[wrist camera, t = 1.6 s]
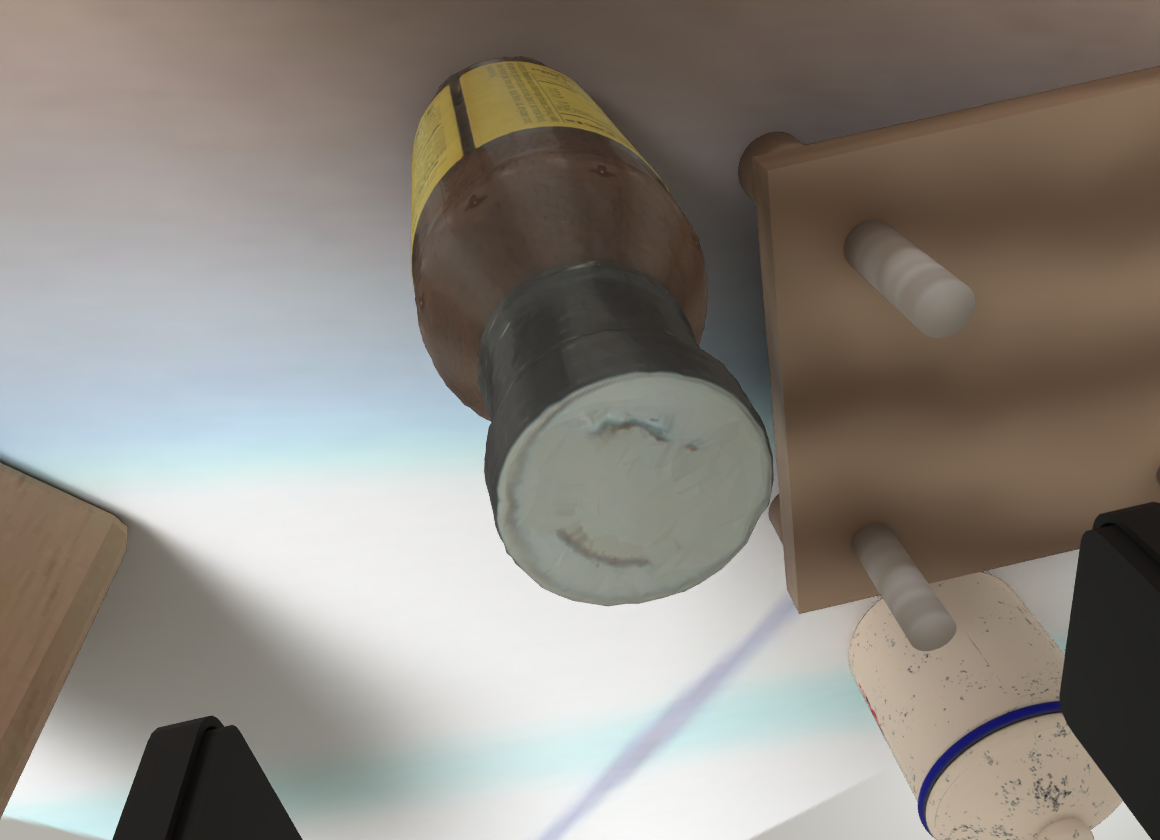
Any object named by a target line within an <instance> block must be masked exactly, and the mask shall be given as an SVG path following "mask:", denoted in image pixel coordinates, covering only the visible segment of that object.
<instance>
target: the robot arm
mask: <svg viewBox="0 0 1160 840" xmlns="http://www.w3.org/2000/svg"><path fill="white" fill-rule="evenodd" d="M1059 701H1060V706H1061V710H1062V713H1063V716H1064V718H1065V720H1066V723H1067V725H1068V726H1069V728H1070V729H1071V731H1072V732H1073V734H1074V735H1075V736H1076V738H1077V739H1078V741H1079V742H1080V743H1081V745H1082V746H1083V747H1084V749H1085V750H1086V751H1087V753H1088V754H1089V755H1090V757H1091V758H1092V759H1093V761H1094V762H1095V763H1096V765H1097V766H1098V768H1099V769H1100V770H1101V772H1102V773H1103V774H1104V776H1105V777H1106V778H1107V780H1108V781H1109V782H1110V784H1111V785H1112V786H1113V788H1114V789H1115V790H1116V792H1117V793H1118V795H1119V796H1120V797H1121V799H1122V800H1123V801H1124V803H1125V804H1126V805H1127V807H1128V808H1129V809H1130V811H1131V812H1132V813H1133V815H1134V816H1135V817H1136V819H1137V820H1138V822H1139V823H1140V824H1141V826H1142V827H1143V828H1144V830H1145V831H1146V832H1147V834H1148V835H1149V836H1150V838H1151V839H1152V840H1160V503H1158V502H1150V503H1145V504H1141V505H1137V506H1132V507H1128V508H1123V509H1119V510H1115V511H1110V512H1106V513H1102V514H1099V515H1098V516H1097V518H1096V519H1095V521H1094V524H1093V527H1092V530H1088V531H1086V532H1085V533H1084V534H1083V535H1082V539H1081V544H1080V551H1079V558H1078V565H1077V572H1076V579H1075V587H1074V594H1073V601H1072V608H1071V615H1070V623H1069V630H1068V637H1067V644H1066V651H1065V658H1064V666H1063V673H1062V680H1061V687H1060V694H1059ZM113 840H302V838H301V836H300V835H299V833H298V831H297V829H296V828H295V826H294V824H293V822H292V821H291V819H290V817H289V816H288V814H287V812H286V810H285V809H284V807H283V805H282V803H281V802H280V800H279V798H278V796H277V795H276V793H275V791H274V790H273V788H272V786H271V784H270V783H269V781H268V779H267V777H266V776H265V774H264V772H263V770H262V769H261V767H260V765H259V763H258V762H257V760H256V758H255V757H254V755H253V753H252V751H251V750H250V748H249V746H248V744H247V743H246V741H245V739H244V737H243V736H242V734H241V732H240V731H239V730H238V728H237V727H235V726H234V725H230V726H226V727H224V726H223V724H222V723H221V722H220V721H219V719H218V718H216V717H214V716H208V717H203V718H199V719H194V720H190V721H186V722H181V723H177V724H172V725H168V726H163V727H159V728H157V729H156V730H155V731H154V732H153V733H152V734H151V736H150V738H149V740H148V742H147V745H146V748H145V751H144V753H143V756H142V759H141V762H140V765H139V767H138V770H137V773H136V776H135V778H134V781H133V784H132V787H131V790H130V792H129V795H128V798H127V801H126V803H125V806H124V809H123V812H122V815H121V817H120V820H119V823H118V826H117V828H116V831H115V834H114V837H113Z"/></svg>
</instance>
